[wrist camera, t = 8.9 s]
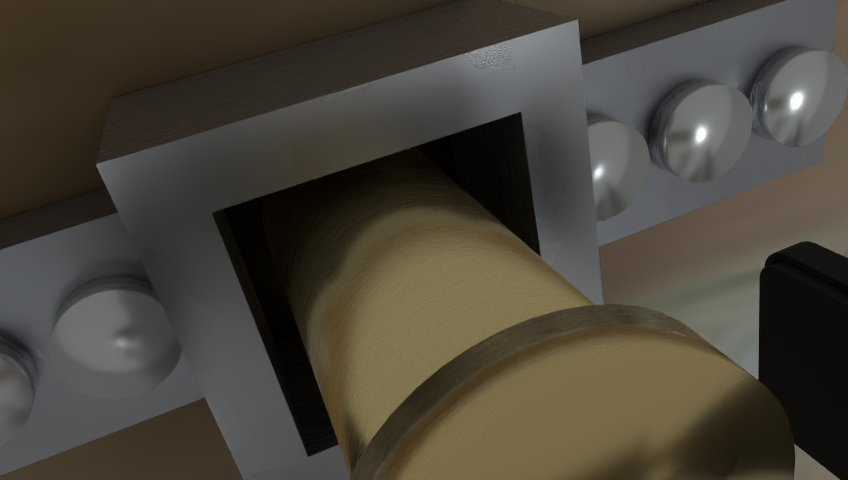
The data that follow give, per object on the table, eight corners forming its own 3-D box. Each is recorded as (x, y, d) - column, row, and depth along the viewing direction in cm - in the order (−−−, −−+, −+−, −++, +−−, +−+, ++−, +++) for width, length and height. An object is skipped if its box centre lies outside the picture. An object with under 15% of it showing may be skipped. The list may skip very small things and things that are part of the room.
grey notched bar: (-120, 540, 15) (-201, 726, 11) (-390, 240, 11) (-623, 380, 8) (771, 195, 20) (900, 253, 16) (786, -93, 16) (956, -95, 13)
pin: (363, 341, 17) (575, 765, 9) (189, 238, 15) (243, 695, 6) (495, 186, 17) (860, 473, 8) (338, 50, 14) (629, 260, 5)
